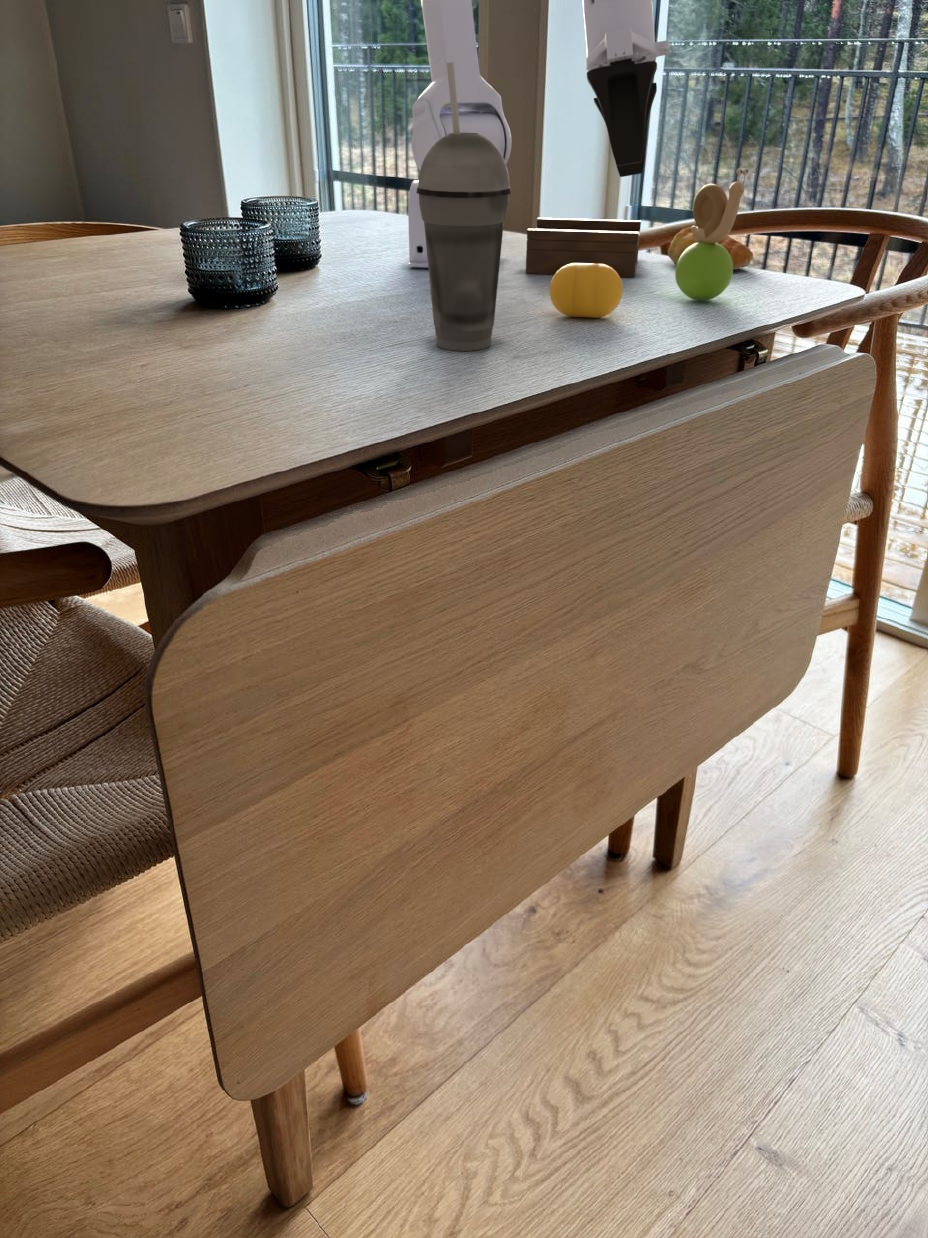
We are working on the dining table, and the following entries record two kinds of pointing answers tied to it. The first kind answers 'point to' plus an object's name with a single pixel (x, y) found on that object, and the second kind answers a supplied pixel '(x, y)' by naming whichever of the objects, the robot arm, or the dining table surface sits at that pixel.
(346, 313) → the dining table surface
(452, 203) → the beverage cup
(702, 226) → the snail figurine
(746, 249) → the pastry
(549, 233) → the brown blocks
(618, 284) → the yellow oval piece
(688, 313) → the dining table surface
